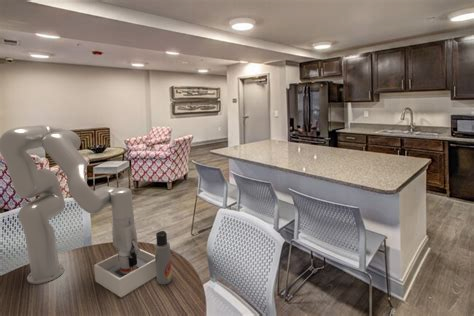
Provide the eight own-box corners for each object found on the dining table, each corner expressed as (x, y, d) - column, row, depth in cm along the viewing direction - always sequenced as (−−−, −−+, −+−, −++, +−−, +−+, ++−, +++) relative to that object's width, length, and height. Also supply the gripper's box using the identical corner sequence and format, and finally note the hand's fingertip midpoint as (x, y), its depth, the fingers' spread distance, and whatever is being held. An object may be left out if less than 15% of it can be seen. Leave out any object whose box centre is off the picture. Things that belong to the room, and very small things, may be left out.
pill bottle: (133, 263, 118) (131, 238, 116) (139, 270, 113) (136, 243, 111) (118, 269, 114) (115, 243, 112) (123, 276, 110) (120, 248, 108)
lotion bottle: (174, 278, 114) (172, 230, 110) (165, 286, 108) (162, 237, 105) (163, 274, 116) (160, 228, 112) (153, 282, 111) (150, 234, 107)
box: (95, 281, 112) (93, 265, 111) (135, 260, 127) (134, 246, 125) (121, 297, 102) (119, 279, 101) (161, 273, 117) (159, 257, 116)
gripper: (101, 218, 112) (106, 260, 115) (128, 228, 102) (133, 274, 105) (119, 212, 118) (123, 252, 121) (146, 221, 108) (149, 265, 111)
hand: (127, 262), depth 113 cm, fingers closed on pill bottle, 6 cm apart
